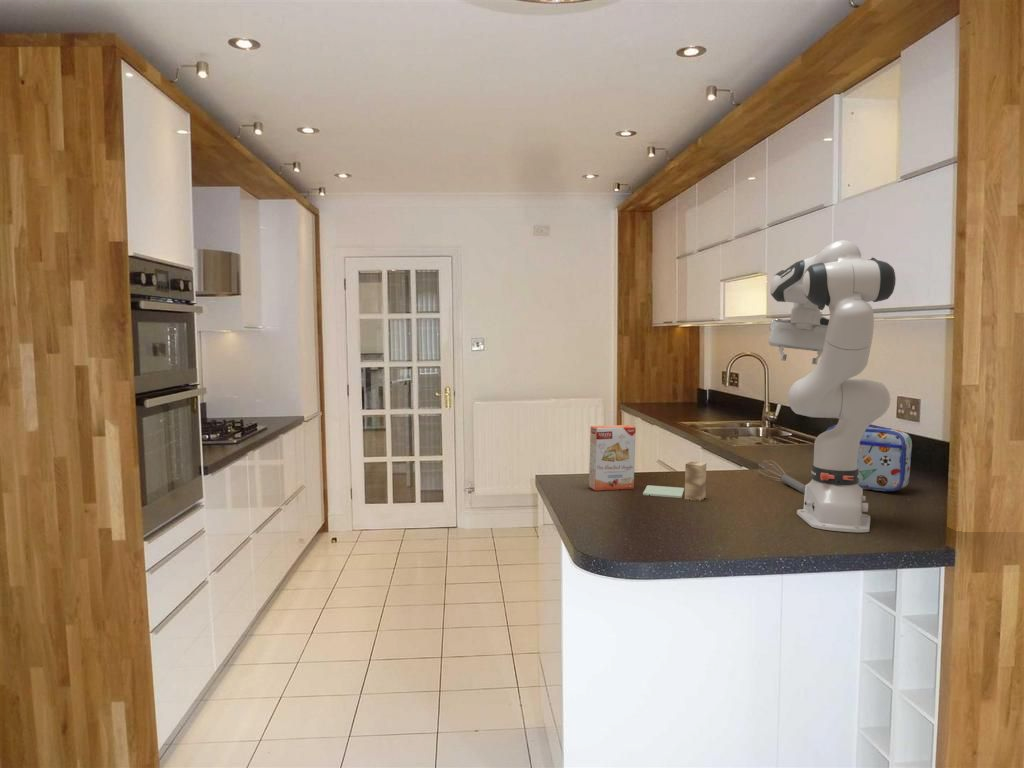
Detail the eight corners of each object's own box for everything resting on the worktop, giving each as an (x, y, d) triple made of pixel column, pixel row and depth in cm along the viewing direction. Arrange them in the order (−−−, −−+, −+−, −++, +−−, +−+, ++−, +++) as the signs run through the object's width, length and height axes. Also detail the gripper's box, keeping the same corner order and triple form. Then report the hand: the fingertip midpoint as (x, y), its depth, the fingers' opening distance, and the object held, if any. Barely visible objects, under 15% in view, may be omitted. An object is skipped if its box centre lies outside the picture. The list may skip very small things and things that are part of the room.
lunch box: (814, 482, 236) (817, 419, 235) (827, 478, 243) (829, 417, 242) (902, 497, 216) (905, 428, 215) (912, 491, 223) (916, 425, 222)
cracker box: (595, 491, 221) (596, 427, 219) (588, 487, 227) (589, 425, 225) (634, 489, 224) (636, 426, 223) (627, 485, 230) (628, 424, 229)
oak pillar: (705, 497, 213) (706, 463, 212) (700, 501, 209) (701, 465, 208) (689, 495, 216) (690, 461, 215) (684, 498, 212) (685, 464, 211)
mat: (681, 498, 213) (681, 496, 213) (642, 495, 216) (642, 493, 216) (684, 489, 224) (684, 487, 224) (647, 487, 228) (647, 485, 228)
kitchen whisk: (801, 497, 216) (802, 477, 216) (754, 475, 250) (755, 458, 249) (820, 496, 217) (821, 477, 216) (770, 475, 250) (771, 458, 250)
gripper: (771, 315, 224) (765, 355, 222) (839, 322, 218) (833, 364, 216) (770, 320, 230) (764, 360, 228) (836, 327, 223) (831, 368, 222)
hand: (798, 362), depth 222 cm, fingers open, 8 cm apart
